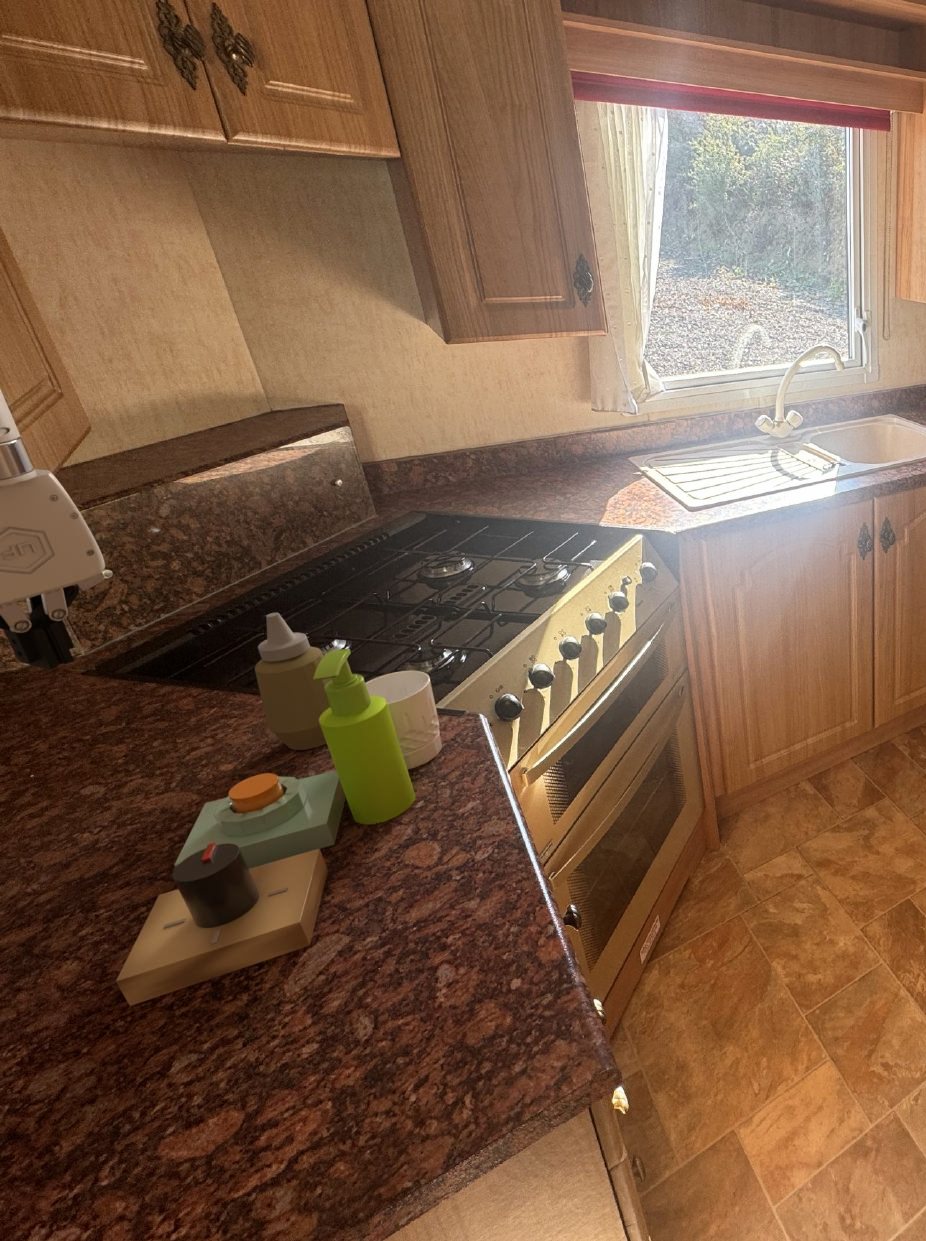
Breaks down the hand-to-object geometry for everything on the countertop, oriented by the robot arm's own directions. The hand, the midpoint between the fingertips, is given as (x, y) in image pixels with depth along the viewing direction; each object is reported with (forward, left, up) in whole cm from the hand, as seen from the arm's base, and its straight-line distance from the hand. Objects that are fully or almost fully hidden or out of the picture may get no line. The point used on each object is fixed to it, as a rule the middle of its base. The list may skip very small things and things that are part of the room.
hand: (51, 662), depth 65 cm
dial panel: (+10, -14, -24) cm, 30 cm away
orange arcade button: (+10, 0, -20) cm, 22 cm away
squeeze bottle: (+11, +19, -24) cm, 33 cm away
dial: (+10, -14, -21) cm, 27 cm away
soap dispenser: (+20, -1, -24) cm, 31 cm away
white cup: (+22, +9, -24) cm, 34 cm away
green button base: (+10, 0, -24) cm, 26 cm away
